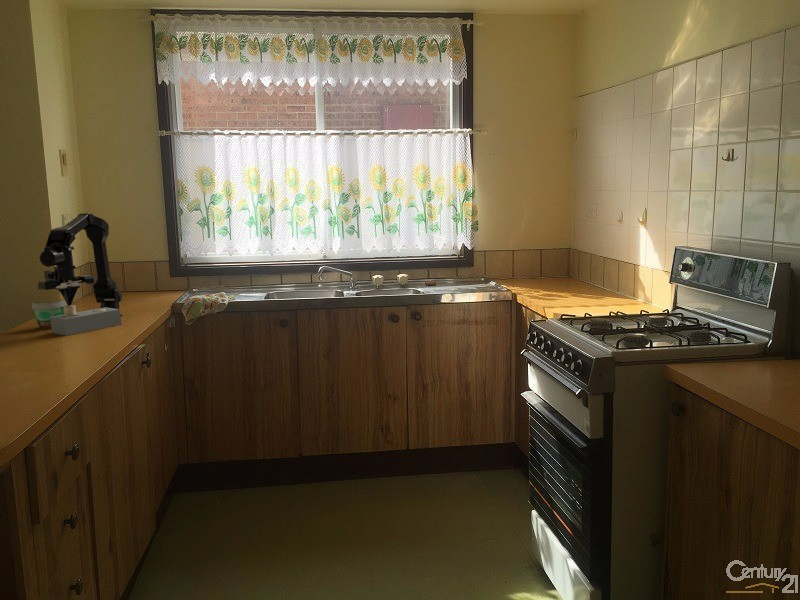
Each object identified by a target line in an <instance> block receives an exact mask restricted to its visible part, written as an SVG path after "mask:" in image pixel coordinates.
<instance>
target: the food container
mask: <svg viewBox="0 0 800 600" xmlns="http://www.w3.org/2000/svg"><path fill="white" fill-rule="evenodd" d="M64 306H68V305H67V303H66V301H65V299H64V300H62V301H56V302H55V301H54V302H45V303H34V302H32V304H31V309H33V311H34V316H35V320H36V323H37V328H38V330H52V328H51V319H50V317H53V316H59V315H64V308H63V307H64Z"/></svg>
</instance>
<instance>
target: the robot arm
mask: <svg viewBox="0 0 800 600" xmlns="http://www.w3.org/2000/svg"><path fill="white" fill-rule="evenodd" d="M109 229H110V226H109V223H108V222H107V221H106V220H105V219H103V218H101V217H99V216H95V215H94V214H93V213H91V212H82V213H79V214H77V216H76V217H74V218H73V219H71V220H70V221H69V222H68V223H67V224H65V225H63V226H59V227H55V228H52V229H51V230H50V231H49V234H48V237H47V240H46V244H45V247H44V248H43V250H44V251H42V252H41V253H40V255H39V262H40V263H41V264H42V266H44V267H47V268H50V267H53V266H54V268H53V269H54V271H52V270H44V271H43V275H44V280H39V282H38V283H37V289H38V290H45V291H49V290H57V291H59V293H60V294H61V295H62V297H63V299H64V300H65V302H66V304H67V305H66V306H70V305H73V302H74V299H75V297H76V294H77V291H78V289H79V288H81V285H79V284H81V283H82V284H83V283H85V284H86V285H89V284H92V286H93V294H94V297H95V300H96V303H98V304H99V303H100V307H99V308H104V307H107V308H114V309H120V302H122V301H123V295H122V293H121V292H120V290H119V289H118V287H117V283H116V281H115V280H114V278H112V276H111V272H110V264H109V257H108V250H107V243H106V241H107V239H108V237H109V233H110V231H109ZM81 231H85V234H86V237H87V238H88V240H89V241H90V242H91V244H92V250H93V256H94V263H95V265H94V266H95V270H96V277H97V278H96V280H95V277H94V276H93V275H90V274H89V275H88V274H83V275H78V276H75V269H77V268H76V267H77V266H76V265H74V258H73V250H75V247H74V246H73V245H72V244H73V242H74V241H75V240H76V235H77V234H78V233H80V232H81ZM120 315H121V317H122V316H123V314H121V313H120Z"/></svg>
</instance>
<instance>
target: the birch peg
mask: <svg viewBox="0 0 800 600" xmlns="http://www.w3.org/2000/svg"><path fill="white" fill-rule="evenodd" d="M63 308H64V316H65V317H73V316H76V312H77V310H76V304H71V305H70V306H68V305H66V306H64V307H63Z"/></svg>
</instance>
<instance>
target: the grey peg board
mask: <svg viewBox="0 0 800 600" xmlns="http://www.w3.org/2000/svg"><path fill="white" fill-rule="evenodd" d="M100 309H106V311H101V312H95V310H100ZM120 314H121V309H120V308H119V309H114V308H107V307H104V308H100V307H99V308H93V309H87V310H82V311H76V316H73V317H65V316H64V315H59V316H53V317H50V319H51V328H52V329H51V333H52V334H56V335H61V336H66V337H67V336H71V335H77V334H81V333H87V332H91V331H96V330H102V329H106V328H107V329H108V328H112V327H117V326H121V325H122V316H121V315H120Z"/></svg>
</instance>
